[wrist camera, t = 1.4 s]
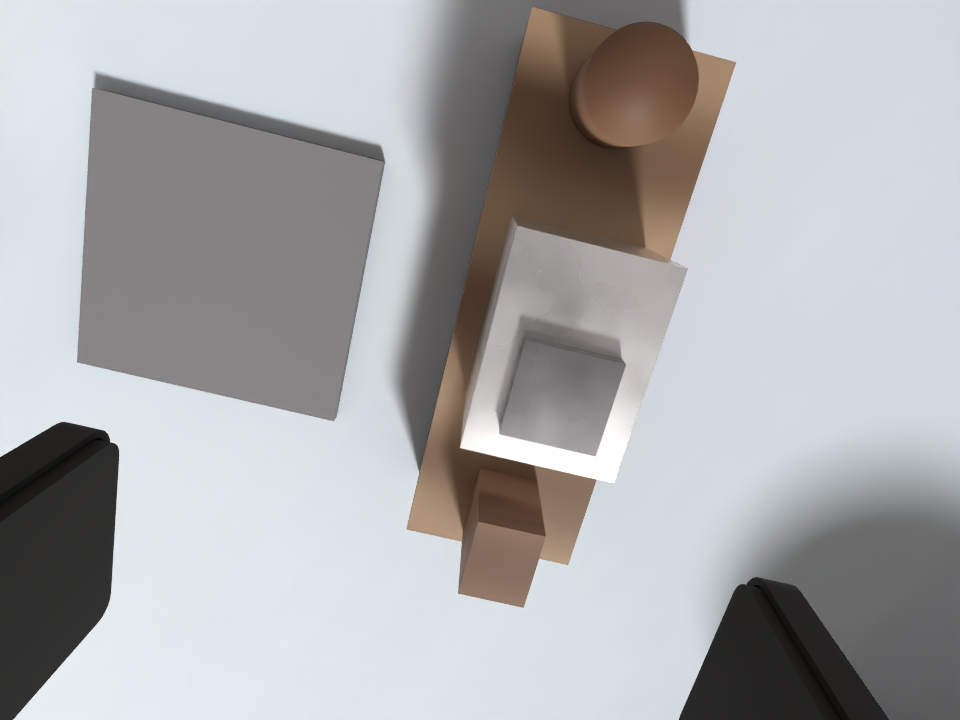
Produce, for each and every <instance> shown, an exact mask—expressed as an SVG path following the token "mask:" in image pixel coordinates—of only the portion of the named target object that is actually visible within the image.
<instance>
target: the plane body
mask: <svg viewBox="0 0 960 720" xmlns="http://www.w3.org/2000/svg"><path fill="white" fill-rule="evenodd" d="M735 64H736V62H733V61H729V60H726V59H722V58H718V57H715V56H711V55H707V54H704V53H700V52H696V51H693V50H692V49H691V48H690V46H689V44H688V43H687V42H686V40H685V39H684V38H683V37H682V36H681V35H680V34H679V33H677V32H676V31H674V30H673V29H671V28H669V27H667V26H665V25H662V24H659V23H654V22H639V23H634V24H630V25H627V26H625V27H622V28H620V29H619V30H616V29H612V28H608V27H605V26H601V25H597V24H594V23H590V22H586V21H583V20H579V19H575V18H572V17H568V16H564V15H561V14H557V13H553V12H550V11H546V10H542V9H539V8H535V7H532V8H531V12H530V16H529V20H528V23H527V27H526V31H525V35H524V39H523V43H522V47H521V51H520V55H519V59H518V64H517V68H516V72H515V76H514V80H513V84H512V89H511V93H510V97H509V101H508V105H507V110H506V114H505V118H504V122H503V126H502V130H501V135H500V139H499V143H498V147H497V151H496V155H495V160H494V164H493V168H492V172H491V176H490V180H489V185H488V189H487V193H486V197H485V201H484V205H483V210H482V214H481V218H480V222H479V226H478V231H477V235H476V239H475V243H474V247H473V251H472V256H471V260H470V264H469V268H468V272H467V276H466V281H465V285H464V289H463V293H462V297H461V301H460V306H459V310H458V314H457V318H456V322H455V326H454V331H453V335H452V339H451V343H450V347H449V351H448V356H447V360H446V364H445V368H444V372H443V377H442V381H441V385H440V389H439V393H438V397H437V402H436V406H435V410H434V414H433V418H432V422H431V427H430V431H429V435H428V439H427V443H426V447H425V452H424V456H423V460H422V464H421V468H420V472H419V477H418V481H417V486H416V490H415V494H414V499H413V503H412V507H411V512H410V516H409V520H408V525H407V530H412V531H416V532H421V533H426V534H430V535H435V536H439V537H444V538H448V539H453V540H457V541H462V549H461V563H460V577H459V591H458V594H463V595H467V596H472V597H477V598H481V599H486V600H491V601H495V602H500V603H505V604H509V605H514V606H518V607H523V608H524V604H525V601H526V598H527V595H528V592H529V589H530V585H531V582H532V579H533V576H534V573H535V570H536V567H537V563H538V560H539V559H543V560H548V561H552V562H557V563H561V564H566V565H568V563H569V560H570V557H571V554H572V551H573V548H574V545H575V542H576V539H577V536H578V533H579V530H580V527H581V524H582V521H583V519H584V516H585V513H586V510H587V507H588V504H589V501H590V498H591V495H592V492H593V489H594V486H595V483H596V480H597V479H593V478H589V477H584V476H580V475H575V474H571V473H567V472H562V471H558V470H554V469H549V468H545V467H541V466H536V465H532V464H528V463H523V462H519V461H514V460H510V459H506V458H501V457H497V456H493V455H488V454H484V453H480V452H475V451H471V450H467V449H462V448H460V443H461V434H462V424H463V415H464V405H465V395H466V390H467V386H468V382H469V378H470V374H471V370H472V366H473V362H474V358H475V354H476V350H477V346H478V343H479V339H480V335H481V331H482V327H483V323H484V319H485V315H486V311H487V307H488V303H489V299H490V295H491V291H492V287H493V283H494V279H495V275H496V272H497V268H498V264H499V260H500V256H501V252H502V248H503V244H504V240H505V236H506V232H507V228H508V224H509V220H510V216H511V213H512V214H516V215H520V216H524V217H528V218H532V219H536V220H540V221H543V222H547V223H551V224H555V225H559V226H563V227H567V228H571V229H575V230H579V231H583V232H587V233H591V234H595V235H599V236H603V237H607V238H611V239H615V240H619V241H623V242H627V243H631V244H634V245H638V246H642V247H646V248H648V249H650V250H652V251H654V252H656V253H658V254H660V255H662V256H664V257H666V258H668V259H671V256H672V253H673V250H674V247H675V244H676V241H677V238H678V235H679V232H680V229H681V226H682V223H683V220H684V217H685V214H686V211H687V208H688V205H689V202H690V199H691V196H692V193H693V190H694V187H695V184H696V181H697V178H698V175H699V172H700V169H701V166H702V163H703V160H704V157H705V154H706V151H707V148H708V145H709V142H710V139H711V136H712V133H713V130H714V127H715V124H716V121H717V118H718V115H719V112H720V109H721V106H722V103H723V100H724V97H725V94H726V91H727V88H728V85H729V82H730V79H731V76H732V73H733V70H734V67H735Z"/></svg>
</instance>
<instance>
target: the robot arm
mask: <svg viewBox="0 0 960 720" xmlns="http://www.w3.org/2000/svg"><path fill="white" fill-rule="evenodd" d="M118 465H119V449H118V446H117V445H116V444H114V443H110V438H109V436H108V434H107V433H106V432H105V431H103V430H99V429H94V428H90V427H85V426H81V425H76V424H72V423H67V422H61V423H58V424H56V425H54V426H52V427H51V428H49V429H47V430H45V431H44V432H42V433H40V434H39V435H37V436H35V437H34V438H32V439H30V440H29V441H27V442H25V443H23V444H22V445H20V446H18V447H17V448H15V449H13V450H12V451H10V452H8V453H7V454H5V455H3V456H1V457H0V720H13V719H14V718H15V717H16V716H17V714H18V713H19V712H20V711H21V710H22V709H23V708H24V706H25V705H26V704H27V703H28V702H29V701H30V700H31V698H32V697H33V696H34V695H35V694H36V693H37V692H38V690H39V689H40V688H41V687H42V686H43V685H44V684H45V682H46V681H47V680H48V679H49V678H50V677H51V676H52V674H53V673H54V672H55V671H56V670H57V669H58V668H59V666H60V665H61V664H62V663H63V662H64V661H65V660H66V658H67V657H68V656H69V655H70V654H71V653H72V652H73V650H74V649H75V648H76V647H77V646H78V645H79V644H80V642H81V641H82V640H83V639H84V638H85V637H86V636H87V634H88V633H89V632H90V631H91V630H92V629H93V628H94V626H95V625H96V624H97V623H98V622H99V620H100V619H101V618H102V616H103V614H104V613H105V611H106V608H107V606H108V603H109V600H110V595H111V582H112V565H113V548H114V532H115V515H116V498H117V481H118ZM679 720H889V719H888V718H887V716H886V715H885V713H884V712H883V710H882V709H881V707H880V706H879V705H878V703H877V702H876V700H875V699H874V697H873V696H872V694H871V693H870V692H869V690H868V689H867V687H866V686H865V684H864V683H863V681H862V680H861V678H860V677H859V676H858V674H857V673H856V671H855V670H854V668H853V667H852V665H851V664H850V663H849V661H848V660H847V658H846V657H845V655H844V654H843V652H842V651H841V650H840V648H839V647H838V645H837V644H836V642H835V641H834V639H833V638H832V637H831V635H830V634H829V632H828V631H827V629H826V628H825V626H824V625H823V624H822V622H821V621H820V619H819V618H818V616H817V615H816V613H815V612H814V611H813V609H812V608H811V606H810V605H809V603H808V602H807V600H806V599H805V598H804V596H803V595H802V593H801V592H800V591H799V590H798V589H797V588H796V587H795V586H793V585H789V584H785V583H780V582H776V581H772V580H767V579H763V578H758V577H756V578H752V579H751V580H750V581H749V582H748V583H747V585H745V584H741V585H739V586H738V587H737V588H736V589H735V591H734V593H733V595H732V598H731V600H730V602H729V604H728V607H727V609H726V611H725V614H724V616H723V618H722V621H721V623H720V625H719V627H718V630H717V632H716V634H715V637H714V639H713V641H712V644H711V646H710V648H709V651H708V653H707V655H706V657H705V660H704V662H703V664H702V667H701V669H700V671H699V674H698V676H697V678H696V681H695V683H694V685H693V687H692V690H691V692H690V694H689V697H688V699H687V701H686V704H685V706H684V708H683V710H682V713H681V715H680V718H679Z"/></svg>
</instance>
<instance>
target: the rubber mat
mask: <svg viewBox="0 0 960 720" xmlns="http://www.w3.org/2000/svg"><path fill="white" fill-rule="evenodd" d="M384 164H385V162H384V161H380V160H376V159H372V158H368V157H364V156H360V155H356V154H352V153H348V152H344V151H340V150H336V149H333V148H329V147H325V146H321V145H317V144H313V143H309V142H305V141H301V140H297V139H293V138H289V137H285V136H281V135H278V134H274V133H270V132H266V131H262V130H258V129H254V128H250V127H246V126H242V125H238V124H234V123H230V122H226V121H223V120H219V119H215V118H211V117H207V116H203V115H199V114H195V113H191V112H187V111H183V110H179V109H175V108H171V107H168V106H164V105H160V104H156V103H152V102H148V101H144V100H140V99H136V98H132V97H128V96H124V95H120V94H116V93H113V92H109V91H105V90H101V89H96V88H92V103H91V121H90V139H89V157H88V175H87V193H86V211H85V230H84V248H83V266H82V284H81V302H80V320H79V338H78V356H77V362H78V363H83V364H87V365H91V366H96V367H100V368H104V369H109V370H113V371H118V372H122V373H126V374H131V375H135V376H139V377H144V378H148V379H152V380H157V381H161V382H166V383H170V384H174V385H179V386H183V387H187V388H192V389H196V390H200V391H205V392H209V393H214V394H218V395H222V396H227V397H231V398H235V399H240V400H244V401H248V402H253V403H257V404H261V405H266V406H270V407H275V408H279V409H283V410H288V411H292V412H296V413H301V414H305V415H309V416H314V417H318V418H323V419H327V420H331V421H334V420H335V418H336V416H337V412H338V406H339V401H340V396H341V391H342V385H343V380H344V375H345V370H346V364H347V359H348V354H349V348H350V343H351V338H352V333H353V327H354V322H355V317H356V312H357V306H358V301H359V296H360V291H361V285H362V280H363V275H364V270H365V264H366V259H367V254H368V249H369V243H370V238H371V233H372V227H373V222H374V217H375V212H376V206H377V201H378V196H379V191H380V185H381V180H382V175H383V170H384Z"/></svg>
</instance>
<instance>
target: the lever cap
mask: <svg viewBox="0 0 960 720" xmlns="http://www.w3.org/2000/svg"><path fill="white" fill-rule="evenodd" d="M687 270H688V269H687V268H685V267H683V266H682V265H680V264H678V263H676V262H674V261H672V260H670V259H668V258H666V257H664V256H662V255H660V254H658V253H656V252H654V251H652V250H650V249H648V248H646V247H642V246H638V245H634V244H631V243H627V242H623V241H619V240H615V239H611V238H607V237H603V236H599V235H595V234H591V233H587V232H583V231H579V230H575V229H571V228H567V227H563V226H559V225H555V224H551V223H547V222H543V221H540V220H536V219H532V218H528V217H524V216H520V215H516V214H512V213H511V216H510V220H509V224H508V228H507V232H506V236H505V240H504V244H503V248H502V252H501V256H500V260H499V264H498V268H497V272H496V275H495V279H494V283H493V287H492V291H491V295H490V299H489V303H488V307H487V311H486V315H485V319H484V323H483V327H482V331H481V335H480V339H479V343H478V346H477V350H476V354H475V358H474V362H473V366H472V370H471V374H470V378H469V382H468V386H467V390H466V395H465V405H464V415H463V424H462V434H461V443H460V448H462V449H467V450H471V451H475V452H480V453H484V454H488V455H493V456H497V457H501V458H506V459H510V460H514V461H519V462H523V463H528V464H532V465H536V466H541V467H545V468H549V469H554V470H558V471H562V472H567V473H571V474H575V475H580V476H584V477H589V478H593V479H597V480H602V481H606V482H610V483H614V481H615V479H616V476H617V473H618V470H619V467H620V464H621V461H622V458H623V455H624V452H625V449H626V447H627V444H628V441H629V438H630V435H631V432H632V429H633V426H634V423H635V420H636V418H637V415H638V412H639V409H640V406H641V403H642V400H643V397H644V394H645V391H646V389H647V386H648V383H649V380H650V377H651V374H652V371H653V368H654V365H655V362H656V360H657V357H658V354H659V351H660V348H661V345H662V342H663V339H664V336H665V333H666V330H667V328H668V325H669V322H670V319H671V316H672V313H673V310H674V307H675V304H676V301H677V299H678V296H679V293H680V290H681V287H682V284H683V281H684V278H685V275H686V272H687Z"/></svg>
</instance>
